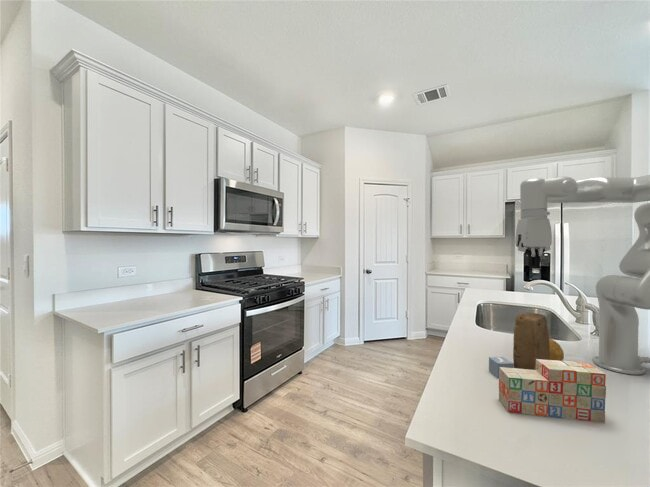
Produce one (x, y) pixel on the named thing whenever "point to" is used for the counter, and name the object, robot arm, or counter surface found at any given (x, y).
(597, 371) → the stack of blocks
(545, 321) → the brown rock
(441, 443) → the counter surface
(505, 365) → the alphabet block
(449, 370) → the counter surface
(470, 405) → the counter surface
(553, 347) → the potato
